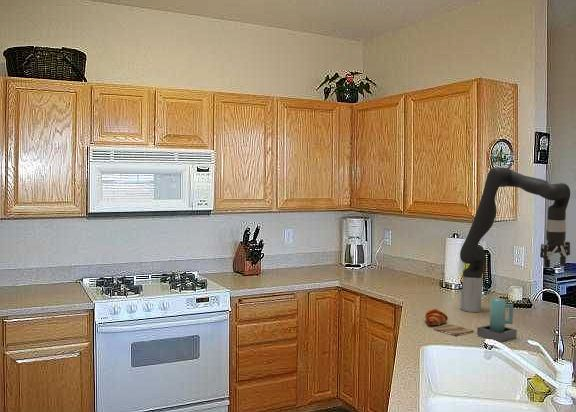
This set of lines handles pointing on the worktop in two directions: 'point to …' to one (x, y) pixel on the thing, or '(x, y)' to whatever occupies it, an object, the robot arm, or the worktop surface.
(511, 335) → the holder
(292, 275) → the worktop surface
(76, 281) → the worktop surface
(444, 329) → the board
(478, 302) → the robot arm
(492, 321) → the jug
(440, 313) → the croissant
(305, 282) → the worktop surface
